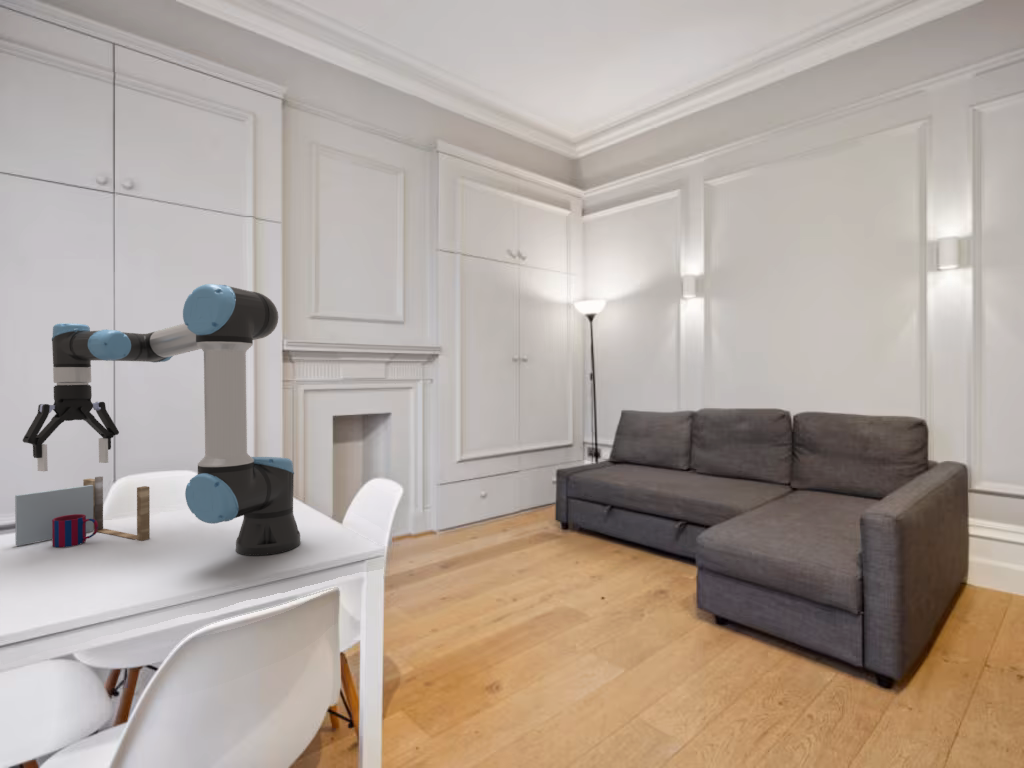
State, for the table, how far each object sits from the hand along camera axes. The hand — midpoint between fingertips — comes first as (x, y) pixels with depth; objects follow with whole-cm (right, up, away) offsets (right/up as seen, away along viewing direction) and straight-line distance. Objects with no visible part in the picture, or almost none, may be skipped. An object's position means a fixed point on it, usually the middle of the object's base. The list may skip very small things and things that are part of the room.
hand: (74, 466), depth 137 cm
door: (-9, -20, +5) cm, 22 cm away
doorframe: (+3, -20, +10) cm, 22 cm away
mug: (-1, -20, +1) cm, 20 cm away
